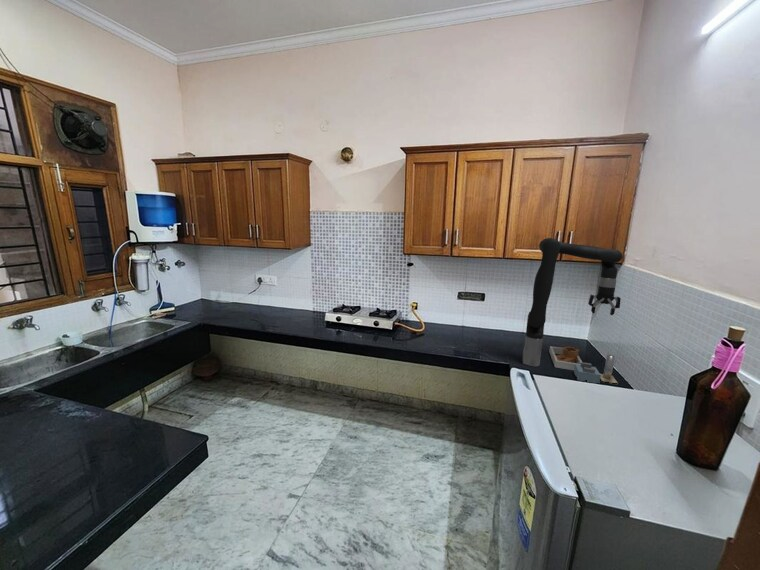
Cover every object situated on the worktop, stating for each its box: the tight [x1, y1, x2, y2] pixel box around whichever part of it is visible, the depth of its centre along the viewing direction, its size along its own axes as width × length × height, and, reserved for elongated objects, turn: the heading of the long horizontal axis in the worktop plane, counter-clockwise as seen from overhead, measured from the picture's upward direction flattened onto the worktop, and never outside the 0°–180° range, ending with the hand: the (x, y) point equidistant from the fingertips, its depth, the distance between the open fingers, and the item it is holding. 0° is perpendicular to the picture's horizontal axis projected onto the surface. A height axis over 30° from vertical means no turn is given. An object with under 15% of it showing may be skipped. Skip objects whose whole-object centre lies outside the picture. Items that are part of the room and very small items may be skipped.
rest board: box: [600, 373, 619, 385], centre depth 171 cm, size 7×9×1 cm
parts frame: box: [548, 345, 583, 371], centre depth 193 cm, size 14×24×4 cm, turn 159°
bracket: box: [556, 346, 580, 363], centre depth 193 cm, size 18×8×7 cm, turn 119°
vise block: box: [573, 361, 601, 384], centre depth 172 cm, size 10×10×7 cm
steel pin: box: [603, 353, 616, 380], centre depth 170 cm, size 4×4×13 cm
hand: (602, 314), depth 175 cm, fingers open, 8 cm apart
